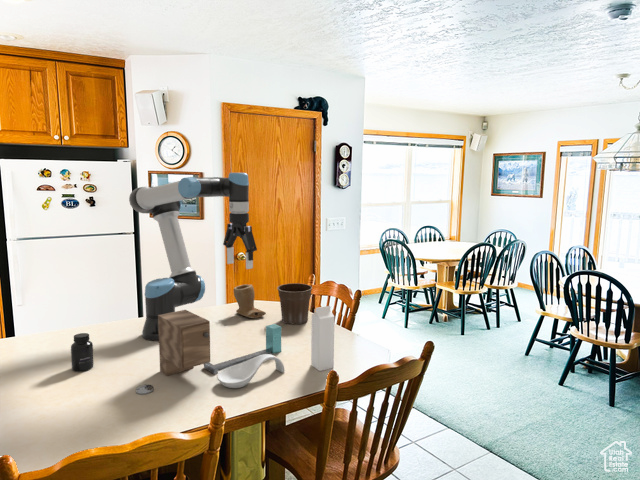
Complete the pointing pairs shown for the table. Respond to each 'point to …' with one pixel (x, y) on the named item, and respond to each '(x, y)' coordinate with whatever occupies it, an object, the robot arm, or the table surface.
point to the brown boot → (246, 301)
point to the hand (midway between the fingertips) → (239, 266)
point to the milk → (322, 339)
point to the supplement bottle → (82, 353)
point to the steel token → (144, 389)
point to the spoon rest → (245, 371)
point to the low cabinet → (183, 341)
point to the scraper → (271, 348)
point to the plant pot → (294, 302)
